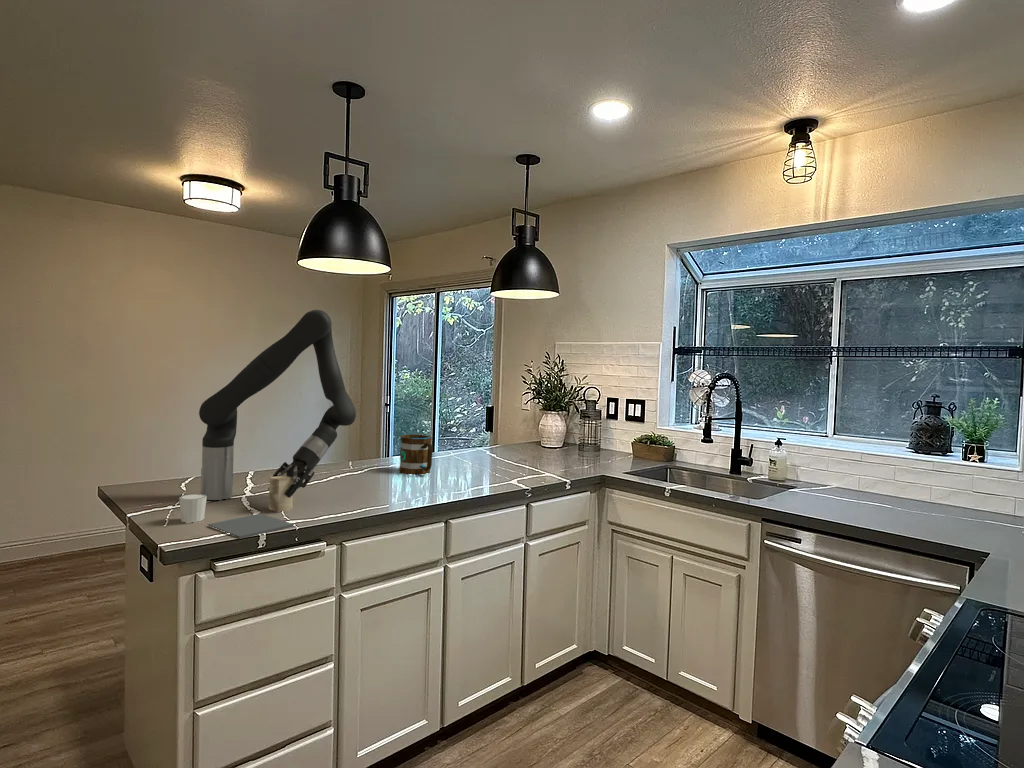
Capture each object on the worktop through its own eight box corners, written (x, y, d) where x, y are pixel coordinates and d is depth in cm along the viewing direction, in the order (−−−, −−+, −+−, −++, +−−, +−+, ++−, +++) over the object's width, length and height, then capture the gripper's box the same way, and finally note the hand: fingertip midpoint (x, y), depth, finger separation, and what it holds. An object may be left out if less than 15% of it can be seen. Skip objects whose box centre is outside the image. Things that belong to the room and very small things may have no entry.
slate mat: (207, 526, 166) (207, 524, 166) (260, 515, 179) (260, 513, 179) (239, 538, 157) (239, 536, 157) (293, 526, 170) (293, 524, 170)
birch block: (268, 509, 186) (269, 477, 186) (282, 506, 190) (283, 475, 190) (278, 512, 183) (279, 479, 183) (292, 509, 187) (293, 477, 187)
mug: (392, 470, 255) (394, 435, 255) (420, 467, 264) (422, 433, 263) (415, 479, 240) (416, 441, 239) (444, 476, 248) (445, 440, 248)
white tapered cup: (210, 518, 174) (211, 494, 174) (199, 524, 167) (199, 499, 167) (186, 517, 174) (186, 493, 173) (173, 523, 167) (174, 499, 167)
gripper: (290, 442, 196) (257, 482, 187) (318, 448, 188) (284, 490, 179) (304, 457, 201) (272, 496, 192) (331, 463, 193) (299, 504, 184)
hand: (278, 493), depth 186 cm, fingers open, 8 cm apart
